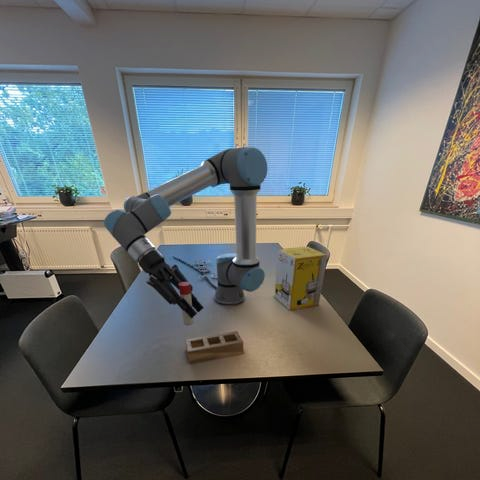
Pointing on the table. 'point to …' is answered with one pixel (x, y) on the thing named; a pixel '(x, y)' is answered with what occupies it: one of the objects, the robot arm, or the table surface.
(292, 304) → the packaging box
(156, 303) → the table surface
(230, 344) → the pen holder
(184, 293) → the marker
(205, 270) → the drone parts
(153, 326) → the table surface
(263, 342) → the table surface
